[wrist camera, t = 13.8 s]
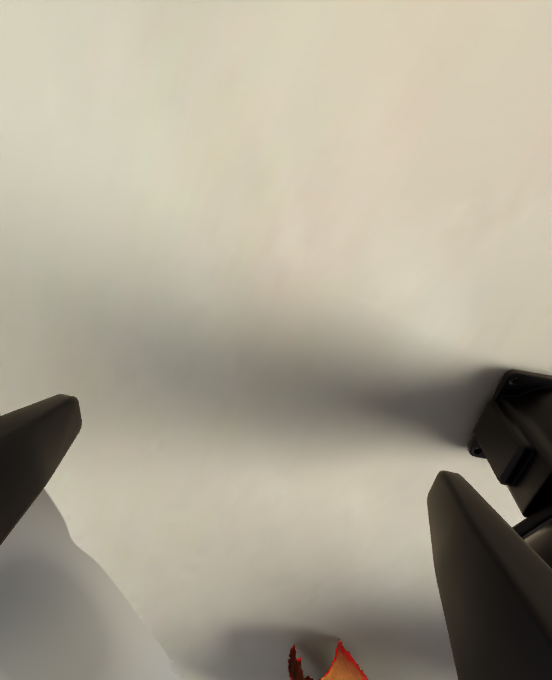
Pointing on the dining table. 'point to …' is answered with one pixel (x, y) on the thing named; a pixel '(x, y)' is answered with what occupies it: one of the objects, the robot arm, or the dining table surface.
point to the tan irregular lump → (342, 673)
